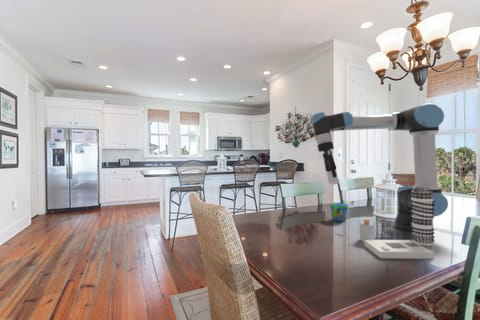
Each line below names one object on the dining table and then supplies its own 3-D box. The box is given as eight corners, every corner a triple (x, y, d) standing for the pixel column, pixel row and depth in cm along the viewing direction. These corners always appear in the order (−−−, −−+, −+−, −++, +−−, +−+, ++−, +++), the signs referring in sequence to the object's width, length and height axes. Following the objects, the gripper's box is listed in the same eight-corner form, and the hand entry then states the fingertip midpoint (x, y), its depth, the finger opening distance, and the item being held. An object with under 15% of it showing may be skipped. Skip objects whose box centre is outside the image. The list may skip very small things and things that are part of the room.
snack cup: (336, 216, 160) (336, 201, 160) (352, 219, 153) (352, 203, 153) (325, 221, 149) (324, 205, 149) (342, 224, 142) (342, 207, 142)
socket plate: (410, 245, 107) (410, 238, 107) (433, 258, 93) (433, 250, 93) (364, 245, 108) (363, 238, 108) (380, 258, 94) (380, 250, 94)
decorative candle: (439, 247, 105) (438, 189, 105) (414, 244, 108) (413, 189, 108) (431, 240, 113) (430, 186, 113) (407, 238, 117) (406, 186, 116)
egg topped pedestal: (369, 239, 116) (369, 218, 116) (374, 242, 112) (374, 220, 112) (359, 239, 116) (359, 218, 116) (364, 242, 112) (364, 220, 112)
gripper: (315, 147, 137) (323, 184, 134) (319, 140, 113) (329, 186, 110) (329, 144, 135) (337, 181, 133) (336, 137, 111) (346, 183, 109)
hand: (333, 183), depth 122 cm, fingers open, 13 cm apart
